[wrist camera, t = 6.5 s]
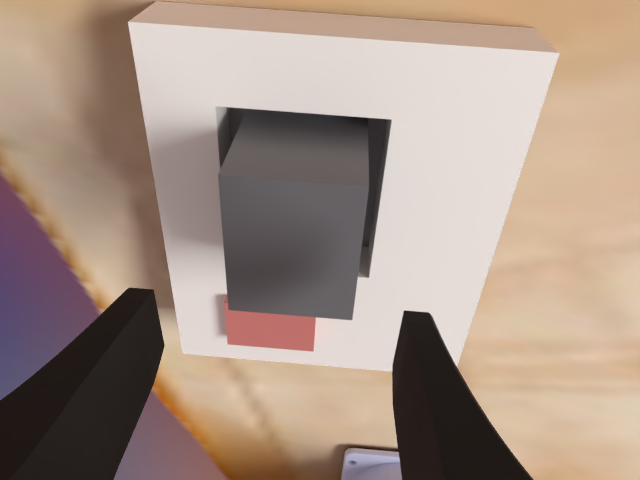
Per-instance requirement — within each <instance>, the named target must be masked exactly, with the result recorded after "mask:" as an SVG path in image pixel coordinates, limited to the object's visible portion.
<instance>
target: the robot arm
mask: <svg viewBox="0 0 640 480" xmlns="http://www.w3.org/2000/svg"><path fill="white" fill-rule="evenodd" d="M163 349H164V341H163V336H162V331H161V325H160V320H159V315H158V310H157V305H156V300H155V294H154V290H151V289H139V288H128V289H127V290H126V291H125V292H124V293H123V294H122V295H121V296H120V297H118V298H117V299H116V300H115V301H114V302H113V303H112V304H111V305H110V306H109V307H108V308H107V309H106V310H105V311H104V312H103V313H102V314H101V315H100V316H99V317H98V318H97V319H96V320H95V321H94V322H93V323H92V324H90V325H89V327H87V328H86V329H85V330H84V331H83V332H82V333H81V334H80V335H79V336H77V338H75V339H74V340H73V341H72V342H71V343H70V344H69V345H68V346H67V347H65V348H64V349H63V350H62V351H61V352H60V353H59V354H58V355H56V356H55V357H54V358H53V359H52V360H50V362H48V363H47V364H46V365H45V366H43V367H42V368H41V369H40V370H39V371H37V372H36V373H35V374H34V375H33V376H31V377H30V378H29V379H28V380H26V381H25V382H24V383H23V384H21V385H20V386H19V387H18V388H16V389H15V390H14V391H12V392H11V393H10V394H8V395H7V396H6V397H4V398H3V399H2V400H0V480H113V479H114V477H115V474H116V471H117V469H118V466H119V464H120V462H121V459H122V457H123V455H124V452H125V450H126V448H127V445H128V443H129V441H130V438H131V436H132V434H133V431H134V429H135V427H136V424H137V422H138V420H139V417H140V415H141V413H142V410H143V408H144V406H145V403H146V401H147V398H148V396H149V394H150V391H151V389H152V386H153V384H154V381H155V377H156V374H157V371H158V367H159V364H160V360H161V356H162V353H163ZM392 376H393V410H394V418H395V427H396V435H397V443H398V451H399V452H394V451H383V450H371V449H360V448H349V449H347V450H346V451H345V454H344V461H343V468H342V474H341V480H533V479H532V478H531V476H530V475H529V474H528V472H527V471H526V470H525V469H524V467H523V466H522V465H521V464H520V462H519V461H518V460H517V459H516V457H515V456H514V455H513V453H512V452H511V451H510V449H509V448H508V447H507V445H506V444H505V443H504V441H503V440H502V438H501V437H500V436H499V434H498V433H497V431H496V430H495V428H494V427H493V425H492V424H491V423H490V421H489V420H488V418H487V416H486V415H485V413H484V412H483V410H482V409H481V407H480V406H479V404H478V402H477V401H476V399H475V398H474V396H473V394H472V393H471V391H470V389H469V388H468V386H467V384H466V382H465V381H464V379H463V377H462V375H461V374H460V372H459V370H458V368H457V366H456V365H455V363H454V361H453V359H452V357H451V355H450V353H449V351H448V349H447V347H446V345H445V343H444V341H443V339H442V337H441V335H440V333H439V330H438V328H437V326H436V324H435V321H434V319H433V316H432V315H431V314H430V313H429V312H417V311H405V310H404V312H403V317H402V322H401V327H400V331H399V336H398V341H397V346H396V350H395V355H394V360H393V365H392Z"/></svg>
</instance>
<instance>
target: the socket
mask: <svg viewBox="0 0 640 480" xmlns="http://www.w3.org/2000/svg"><path fill="white" fill-rule="evenodd" d="M128 26H129V32H130V38H131V44H132V50H133V56H134V62H135V68H136V74H137V80H138V86H139V93H140V99H141V105H142V111H143V117H144V123H145V129H146V135H147V141H148V147H149V153H150V159H151V165H152V171H153V178H154V184H155V190H156V196H157V202H158V208H159V214H160V220H161V226H162V232H163V238H164V244H165V250H166V256H167V262H168V269H169V275H170V281H171V287H172V293H173V299H174V305H175V311H176V317H177V323H178V329H179V335H180V341H181V347H182V354H192V355H204V356H216V357H227V358H239V359H251V360H263V361H274V362H286V363H298V364H310V365H322V366H333V367H345V368H357V369H369V370H380V371H392V365H393V360H394V355H395V350H396V346H397V341H398V336H399V331H400V327H401V322H402V317H403V312H404V310H405V311H417V312H429V313H430V314H431V315H432V316H433V319H434V321H435V324H436V326H437V328H438V330H439V333H440V335H441V337H442V339H443V341H444V343H445V345H446V347H447V349H448V351H449V353H450V355H451V357H452V359H453V361H454V363H455V365H456V366H457V365H458V362H459V359H460V356H461V353H462V350H463V347H464V344H465V341H466V338H467V335H468V331H469V328H470V325H471V322H472V319H473V316H474V313H475V310H476V307H477V304H478V301H479V298H480V295H481V292H482V289H483V286H484V283H485V280H486V276H487V273H488V270H489V267H490V264H491V261H492V258H493V255H494V252H495V249H496V246H497V243H498V240H499V237H500V234H501V231H502V228H503V224H504V221H505V218H506V215H507V212H508V209H509V206H510V203H511V200H512V197H513V194H514V191H515V188H516V185H517V182H518V179H519V176H520V173H521V169H522V166H523V163H524V160H525V157H526V154H527V151H528V148H529V145H530V142H531V139H532V136H533V133H534V130H535V127H536V124H537V121H538V117H539V114H540V111H541V108H542V105H543V102H544V99H545V96H546V93H547V90H548V87H549V84H550V81H551V78H552V75H553V72H554V69H555V66H556V62H557V59H558V56H559V52H558V51H557V50H556V49H555V48H554V47H553V46H552V45H551V44H550V43H549V42H548V41H547V40H546V39H545V38H544V37H543V36H542V35H541V34H540V32H539V31H538V30H537V29H536V28H526V27H512V26H498V25H484V24H470V23H456V22H442V21H428V20H414V19H400V18H386V17H372V16H358V15H344V14H330V13H316V12H302V11H288V10H274V9H260V8H246V7H232V6H218V5H204V4H190V3H176V2H162V1H156V2H154V3H153V4H152V5H150V6H149V7H147V8H146V9H145V10H143V11H142V12H141V13H139V14H138V15H136V16H135V17H134V18H132V19H131V20H130V21H128ZM247 109H258V110H271V111H285V112H298V113H311V114H325V115H338V116H351V117H365V118H368V156H369V192H368V200H367V208H366V216H365V224H364V232H363V240H362V247H361V255H360V263H359V271H358V279H357V287H356V295H355V303H354V311H353V318H352V320H341V319H329V318H317V317H305V316H293V315H281V314H269V313H257V312H245V311H233V310H228V298H227V285H226V272H225V259H224V246H223V234H222V221H221V208H220V195H219V182H218V174H219V171H220V169H221V167H222V165H223V162H224V160H225V158H226V156H227V153H228V151H229V149H230V147H231V144H232V142H233V140H234V138H235V135H236V133H237V131H238V129H239V126H240V124H241V122H242V120H243V117H244V115H245V113H246V111H247Z"/></svg>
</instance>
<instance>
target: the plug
mask: <svg viewBox="0 0 640 480" xmlns="http://www.w3.org/2000/svg"><path fill="white" fill-rule="evenodd" d="M218 182H219V195H220V208H221V221H222V234H223V246H224V259H225V272H226V285H227V298H228V310H233V311H245V312H257V313H269V314H281V315H293V316H305V317H317V318H329V319H341V320H352V318H353V311H354V303H355V295H356V287H357V279H358V271H359V263H360V255H361V247H362V240H363V232H364V224H365V216H366V208H367V200H368V192H369V156H368V118H365V117H351V116H338V115H325V114H311V113H298V112H285V111H271V110H258V109H247V111H246V113H245V115H244V117H243V120H242V122H241V124H240V126H239V129H238V131H237V133H236V135H235V138H234V140H233V142H232V144H231V147H230V149H229V151H228V153H227V156H226V158H225V160H224V162H223V165H222V167H221V169H220V171H219V174H218Z"/></svg>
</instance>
